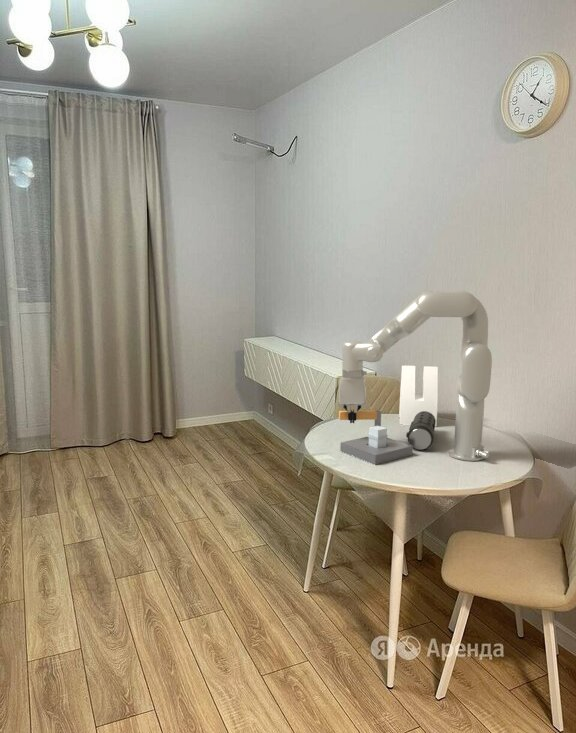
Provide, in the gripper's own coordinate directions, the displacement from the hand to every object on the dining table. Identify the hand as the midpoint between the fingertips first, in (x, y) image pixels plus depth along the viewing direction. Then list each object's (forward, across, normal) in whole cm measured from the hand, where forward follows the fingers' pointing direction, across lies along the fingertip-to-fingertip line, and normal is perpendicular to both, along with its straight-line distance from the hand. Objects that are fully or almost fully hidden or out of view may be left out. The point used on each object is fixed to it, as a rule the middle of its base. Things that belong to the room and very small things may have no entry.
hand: (352, 422), depth 216 cm
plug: (+10, -9, +6) cm, 15 cm away
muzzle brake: (+7, -22, -15) cm, 27 cm away
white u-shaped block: (+11, -28, -46) cm, 55 cm away
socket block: (+10, -9, +5) cm, 14 cm away
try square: (+6, -3, -3) cm, 8 cm away
